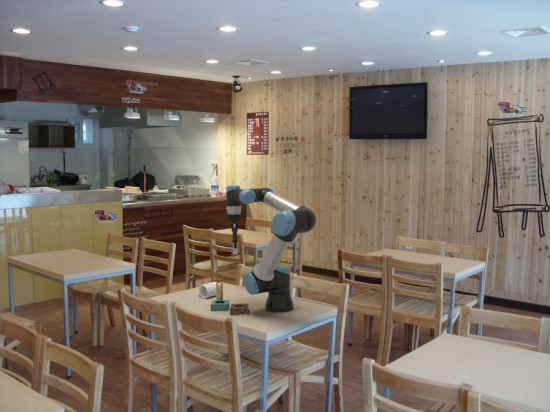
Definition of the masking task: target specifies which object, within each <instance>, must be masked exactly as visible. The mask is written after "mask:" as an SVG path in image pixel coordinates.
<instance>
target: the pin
mask: <svg viewBox="0 0 550 412" xmlns="http://www.w3.org/2000/svg"><path fill="white" fill-rule="evenodd" d="M216 282H217V281H216ZM215 297H216V300H217V303H223V300H224V283H223V281H222V282H221V281H220V282H217V283H216V296H215Z"/></svg>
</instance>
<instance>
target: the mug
mask: <svg viewBox="0 0 550 412" xmlns="http://www.w3.org/2000/svg"><path fill="white" fill-rule="evenodd" d="M216 283H217V281H213V282H207V283H204V284H201V285H200V286H199V288H198V293H199V296H200V297H201V298H202V299H208V298H211V297H216Z"/></svg>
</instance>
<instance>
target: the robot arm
mask: <svg viewBox="0 0 550 412" xmlns="http://www.w3.org/2000/svg"><path fill="white" fill-rule="evenodd" d="M225 190H226V193H225V194H226V195H225V196H226V208H225V209H226V213H227V214H226V217H227V219H226V220H227V222H231V224H230V229H231V233H232V240H231V241H230V242H231V243H232V254H233V255H239V244H238V242H239V240H238V239H239V236H238V233H239V224H238V223H237V222H240V221H242V214H241V213H242V206H241V204H244V205H247V204H253V203H254V204H255V203H263V204H264V205H267V206H269V207H270V208H272V209H274V210H275V211H277V213H276V214H275V215H274V216H273V217H272V220H271V224H272V225H271V229H272V232H273V236H272V238H271V239H270V242H269V243H268V245H267V247H266V249H265V250H264V253H263V255H262V257H261V258H260V260H259V263H258V264H255V265H254V266H253V268H252V270H251V271H249V272H246V273H245V274H244V276H243V285H244V289H245V290H246V292H247V293H249V295H252V296H254V295H258V294H264V293H268V294H267V297H266V301H265V305H264V307H265V310H266V311H269V312H275V313H278V312H279V313H283V312H290V311H292V310H294V307H295V306H294V305H295V304H294V301H293V298H292V295H291V272H290V267H288V266H286V265H281V264H279V263H280V261H281V259H282V257H283V255H284V253H285V251H286V250H287V248H288V246H289V244H290V243H292V242H294V241H295V239H296V238H297V236H298V235H299V234H304V233H309V232H310V231H312V230H313V229H314V228H315V226H316V224H317V217H316V214H315V212H314V211H313V210H312V209H311V208H309V207H307V206H305V205H300V204H298V203H296V202H293V201H292V200H290V199H287V198H285V197H283V196H281V195H279V194H277V193H275V190H274V188H271V187H258V188H245V189H244V188H243V189H241V185H238V184H234V185H233V184H231V185H227V186H226V189H225Z"/></svg>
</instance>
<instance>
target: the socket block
mask: <svg viewBox="0 0 550 412" xmlns="http://www.w3.org/2000/svg"><path fill="white" fill-rule="evenodd" d="M229 307H230V299H223V303H217V299H212V300H211V303H210V312H218V311H219V312H220V311H222V312H227V311H228V310H229V309H230V308H229Z"/></svg>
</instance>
